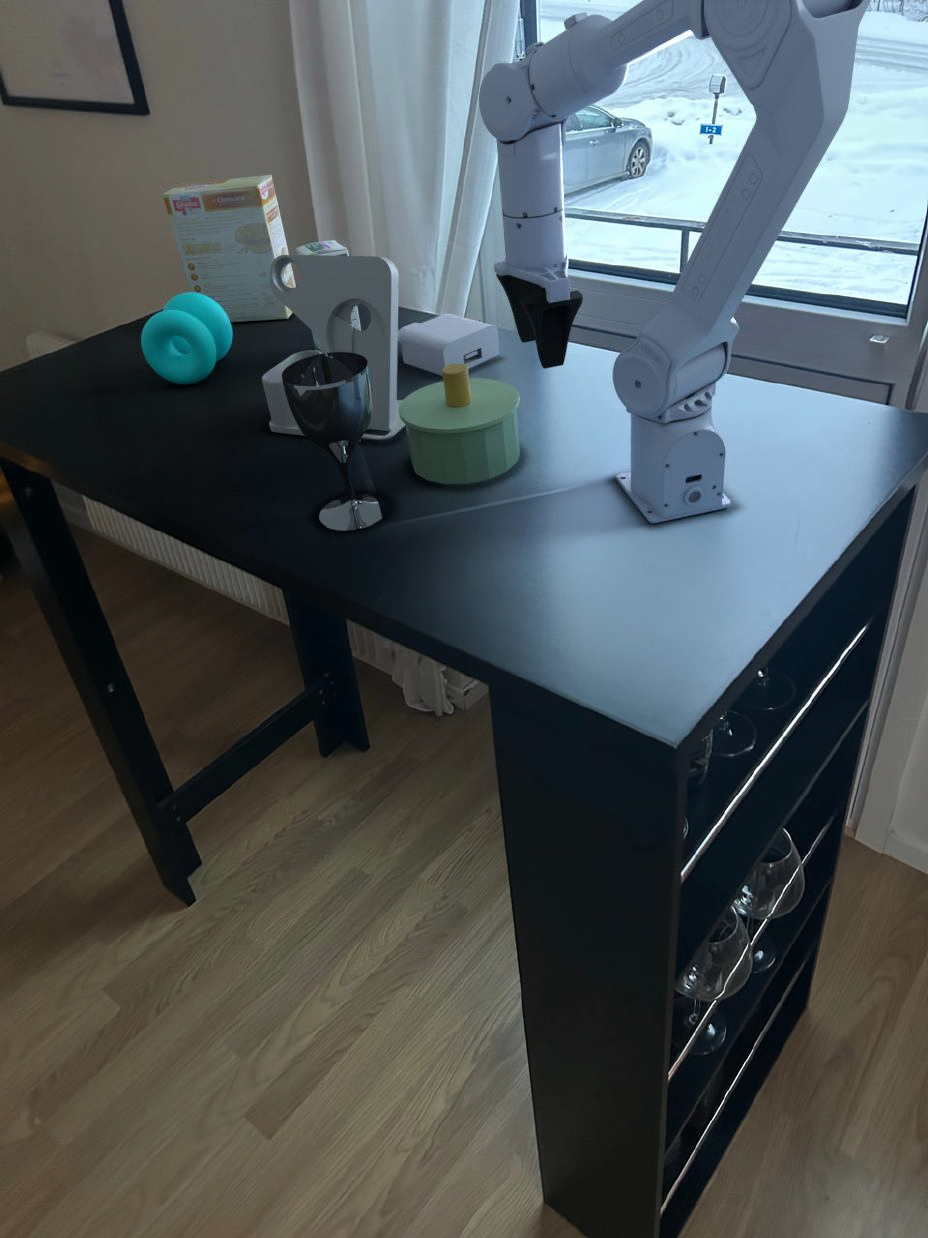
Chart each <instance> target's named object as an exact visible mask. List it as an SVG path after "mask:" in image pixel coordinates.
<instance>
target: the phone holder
mask: <svg viewBox="0 0 928 1238" xmlns="http://www.w3.org/2000/svg"><path fill="white" fill-rule="evenodd" d="M289 263H291V264H292V263H293V264H295V265H296V267H297V268H298V281H297V283H296V287H295V288H291V287H289V286H288V285H287V284H286V282H285V279H284V270H285V268H286V266H287V265H288V264H289ZM399 281H400V276H399V270H398V267H397V265H396V264H395V263H394V262H393V261H392V260H391V259H390V258H388V257H383V256H374V255H370V256H369V255H349V256H330V255H297V254H289V255H280V256H278V257H277V258H275V260H274V261H273V262H272V264H271V267H270V287H271V290H272V292H273V294H274V295H275V296H276V297H277V298H278V299H279V300H280V301H281V302H282V303H283V304H284V305H285V306H286V307H288V308H289V309H290V310H291V311H292V312H293V313H292V314H293V315H294V316H296V317H297V318H298V319H299V320H300V321H301V322H302V323H304V325H305V326H306V327H307V328H309V329H310V331H311V332H312V331H313V332H314V333H316V334H317V336H318V337H319V339H320V342H321V352H319V351H316V349H315V350H313V349H311V350H310V349H307V350H303V351H299V352H295V353H293V354H291V355H290V356H288V357H286V358H285V359H284V360H282V361H280V362H279V363H278V364H277V365H275V366H274V367H272V368H271V369H269V370H267V372H265V373H264V374H263V375H262V377H261V383H262V386H263V391H264V394H265V398H266V402H267V407H268V410H269V413H270V419H271V420H270V421H269V422H268V425H269V429H270V431H271V432H273V433H278V434H279V433H280V434H286V435H287V434H288V435H295V436H296V435H297V436H304V437H306V436H305V435H304V434H303V433H302V431H301V430H300V428H299V427H298V425H297V423H296V421H295V419H294V417H293V414H292V412H291V409H290V407H289V404H288V401H287V397H286V394H285V390H284V386H283V382H282V372H283V371H284V369H285V368H286V367H288V366H289V365H291V364H292V363H294V362H296V361H298V360H301V359H303V358H306V357H310V356H313V355H318V354H323V353H331V352H350V353H356V354H359V355H362V356H364V357H365V358H366V359H367V361H368V364H369V370H370V375H371V383H372V416H371V421H370V424H369V426H368V428H367V430H375V431H384V432H388V433H387V434H385V435H379V434H369V433H364V435H363V436H362V438H361V439H364V440H365V439H366V440H374V441H384V440H389V439H391V438H393V437H395V436H396V435H397V434H398V433H399V432H400V431H401V430H402V429H403V428H404V427H406V424H405V423H404V422H403V421H402V420H401V418H400V415H399V407H400V404H401V402H402V401H403V400H404V399H397V397H398V395H397V394H398V392H397V391H398V389H397V388H398V347H399V346H398V344H399V343H398V331H399V290H400V289H399V288H400V285H399V284H400V282H399ZM359 305H363V306H365V307H366V308H367V309H368V311H369V313H370V323H369V325H368V326H367V328H366V329H364V330H362V329H361V330H358V329H357V328H355V326H354V325H353V323H352V319H351V315H352V311H353V309H354V308H355V307H356V306H357V307H358V306H359ZM361 442H362V440H360V441H359V442H358V443H361Z"/></svg>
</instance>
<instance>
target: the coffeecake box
mask: <svg viewBox="0 0 928 1238" xmlns="http://www.w3.org/2000/svg"><path fill="white" fill-rule="evenodd" d="M162 197H163V198H162V199H163V201H164V204H165V209H166V212H167V215H168V219H169V222H170V225H171V229H172V232H173V237H174V240H175V243H176V246H177V251H178V254H179V257H180V260H181V265H182V268H183V271H184V276H185V278H186V282H187V285H188V289H189V292H193V293H199V294H203V295H205V296H207V297H209V298H211V299H213V300H214V301H215V302H217V303H218V304H219V305H220V306H221V307H222V308H223V310H224V311H225V313H226V314H227V316H228V318H229V320H230V323H243V322H258V321H275V320H288V319H289V318H290V317H291V316H292V315H293V314H294V313H293V312H292V311H291V310H290V309H289V308H288V307H286V306H285V305H284V304H283V303H282V302H281V301H280V300H279V299H278V298H277V297H276V296H275V295H274V294H273V292H272V290H271V287H270V267H271V264H272V262H273V261H274V260H275V258H277V257H278V256H280V255H290V252H289V248H288V244H287V239H286V234H285V230H284V225H283V221H282V217H281V216H282V215H281V211H280V208H279V207H280V206H279V202H278V198H277V193H276V189H275V184H274V180H273V175H272V174H266V175H265V174H264V175H255V176H254V175H253V176H246V177H245V176H244V177H236V178H227V179H225V178H224V179H215V180H205V181H195V182H186V183H179V184H177V185H175V186H173V187H172V188H170V189H168V190H166V191H165V192H163V193H162ZM284 279H285V282H286V284H287V285H288V286H289V287H291V288H295V287H296V286H297V284H296V280H295V276H294V272H293V266H292V263H289V264H288V265H287V266H286V268H285V270H284Z"/></svg>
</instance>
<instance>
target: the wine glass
mask: <svg viewBox="0 0 928 1238" xmlns="http://www.w3.org/2000/svg"><path fill="white" fill-rule="evenodd" d="M282 382H283V386H284V390H285V394H286V397H287V401H288V404H289V407H290V409H291V412H292V414H293V417H294V419H295V421H296V423H297V425H298V427H299V428H300V430H301V431H302V433H303V434H304V435H305V436H304V435H303V436H304V437H306V439H308V440H309V441H310V442H312V443H313V444H314V445H316V446H317V447H319V448H320V449H322V450H323V451H325V452H326V453H327V454H328V455H330V456H331V457H332V459H333V460H334V461H335V463H336V464H337V467H338V470H339V472H340V475H341V478H342V481H343V484H344V488H345V493H346V495H344V496H341V497H338V498H336V499H334V500H332V501H330V502H329V503H327V504H326V505H325V506H324V507H322V509H321V510H320V512H319V515H318V520H319V522H320V524H321V525H322V526H323V527H326V528H328V529H330V530H335V531H344V532H345V531H355V530H361V529H364V528H369V527H371V526H373V525H375V524H377V523H378V522H380V521H381V520H383V519H384V518H385V514H384V512H383V508H382V506H381V502H380V499H379V495H377V494H373V493H355V490H354V485H353V478H352V458H353V453H354V451H355V449H356V447H357V445H358V444H359V443H360V442H359V441H361V440H362V439H363V438H362V436H363V435H364V434H366V431H367V430H368V429H367V428H368V426H369V424H370V421H371V416H372V383H371V375H370V370H369V364H368V361H367V359H366V358H365V357H364V356H362V355H359V354H356V353H350V352H331V353H323V354H318V355H313V356H310V357H306V358H303V359H301V360H298V361H296V362H294V363H292V364H291V365H289V366H288V367H286V368H285V369H284V371H283V372H282Z"/></svg>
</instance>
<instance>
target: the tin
mask: <svg viewBox="0 0 928 1238" xmlns="http://www.w3.org/2000/svg"><path fill="white" fill-rule="evenodd" d="M518 421H519V420H518V409H517V410H516V411H515V412H514V413H513V414H512V415H511V416H509V417H508V418H506V419H505V420H503V421H501V422H499V423H497V424H494V425H492V426H489V427H486V428H482V429H478V430H474V431H469V432H462V433H430V432H424V431H420V430H416V429H414V428H411V427H409V426H408V425H405V430H406V438H407V442H408V449H409V455H410V462H411V466H412V468H413V471H414V473H415V474H416V475H417V476H419V477H421V478H423V479H425V480H426V481H429V482H433V483H438V484H441V485H468V484H473V483H478V482H479V483H480V482H484V481H488V480H491V479H494V478H495V477H497V476H500V475H502V474H505V473H507V472H508V471H509V470H510V469H511V468H512V467H514V466H515V465H516V464H517V463H518V462H519V459H520V454H521V445H520V434H519V422H518Z"/></svg>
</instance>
